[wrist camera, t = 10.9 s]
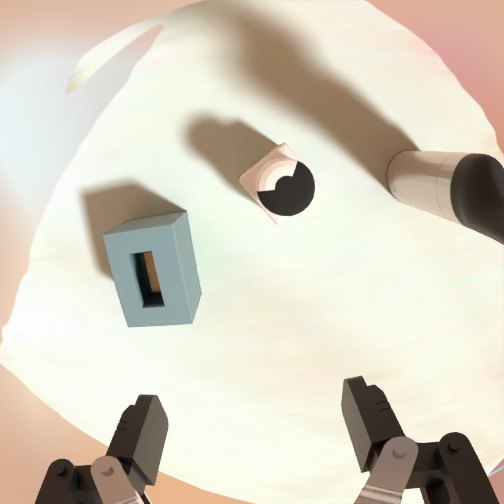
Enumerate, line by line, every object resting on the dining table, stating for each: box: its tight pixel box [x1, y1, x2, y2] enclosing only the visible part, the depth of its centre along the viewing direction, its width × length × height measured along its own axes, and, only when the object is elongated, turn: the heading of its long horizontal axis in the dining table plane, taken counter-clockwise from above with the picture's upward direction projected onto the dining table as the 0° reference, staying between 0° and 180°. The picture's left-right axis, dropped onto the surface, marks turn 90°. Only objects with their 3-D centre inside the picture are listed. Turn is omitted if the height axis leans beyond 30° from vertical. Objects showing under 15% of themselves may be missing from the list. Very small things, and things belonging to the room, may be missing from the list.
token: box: [144, 251, 161, 292], centre depth 43 cm, size 2×6×6 cm, turn 6°
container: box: [239, 143, 322, 224], centre depth 37 cm, size 8×8×13 cm
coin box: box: [102, 211, 202, 327], centre depth 42 cm, size 10×14×10 cm
